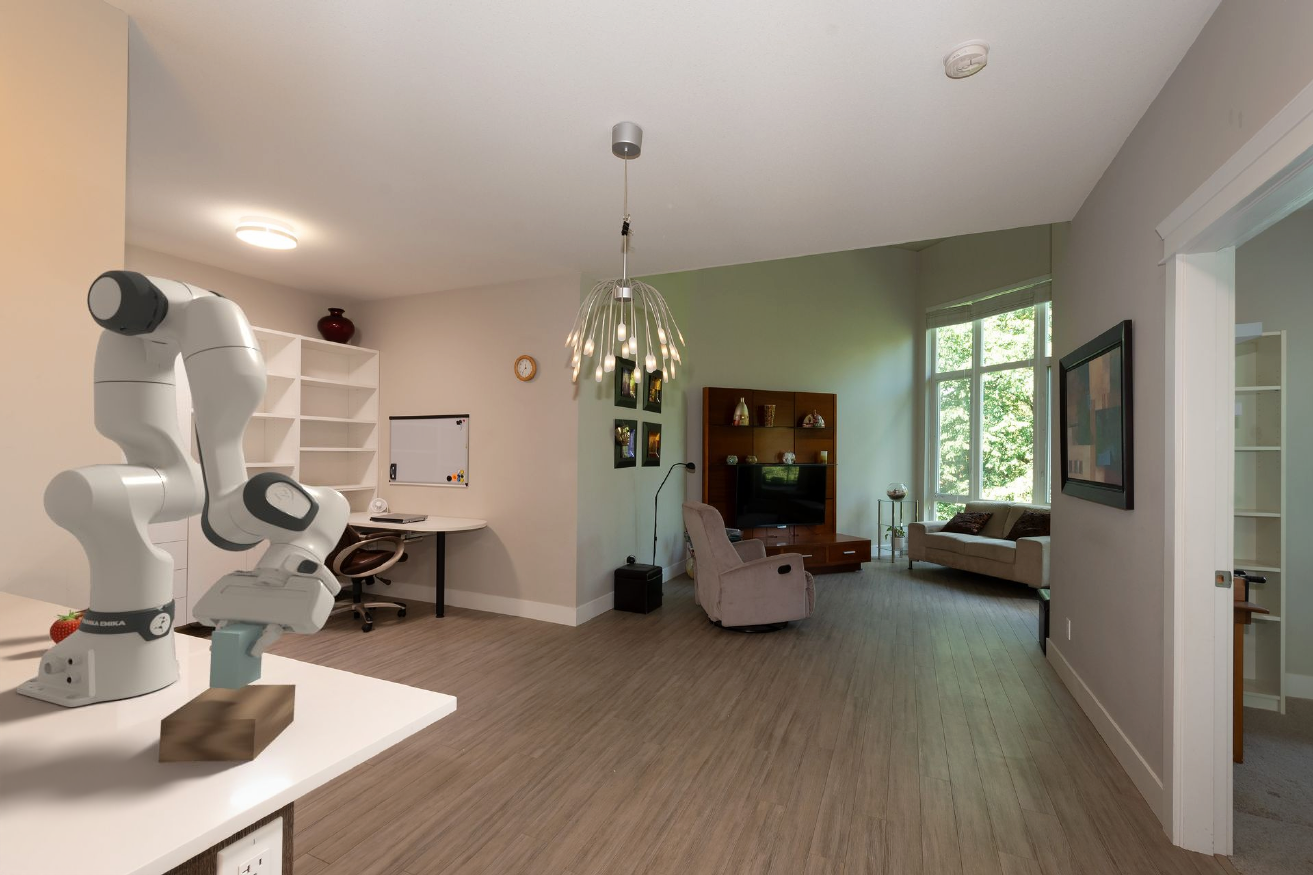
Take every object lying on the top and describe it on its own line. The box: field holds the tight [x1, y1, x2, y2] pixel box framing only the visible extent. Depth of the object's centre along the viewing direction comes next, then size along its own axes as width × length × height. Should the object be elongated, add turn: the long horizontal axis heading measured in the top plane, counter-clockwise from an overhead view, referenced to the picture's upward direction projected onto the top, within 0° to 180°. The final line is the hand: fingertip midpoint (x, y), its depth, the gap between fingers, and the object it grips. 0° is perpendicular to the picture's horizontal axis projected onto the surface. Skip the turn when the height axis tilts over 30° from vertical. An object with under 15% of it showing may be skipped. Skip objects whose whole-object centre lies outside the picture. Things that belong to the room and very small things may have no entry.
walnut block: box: [158, 684, 297, 763], centre depth 89 cm, size 12×12×6 cm
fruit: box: [49, 609, 83, 645], centre depth 121 cm, size 5×5×8 cm
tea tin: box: [208, 623, 264, 690], centre depth 89 cm, size 4×4×8 cm
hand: (233, 654), depth 88 cm, fingers closed on tea tin, 4 cm apart
